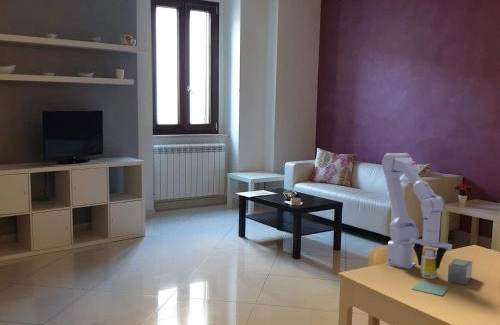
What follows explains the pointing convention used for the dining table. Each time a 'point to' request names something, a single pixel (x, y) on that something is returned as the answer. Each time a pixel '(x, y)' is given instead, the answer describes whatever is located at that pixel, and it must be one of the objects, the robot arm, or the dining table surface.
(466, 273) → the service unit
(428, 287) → the pad
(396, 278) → the dining table surface
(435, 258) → the supplement bottle
